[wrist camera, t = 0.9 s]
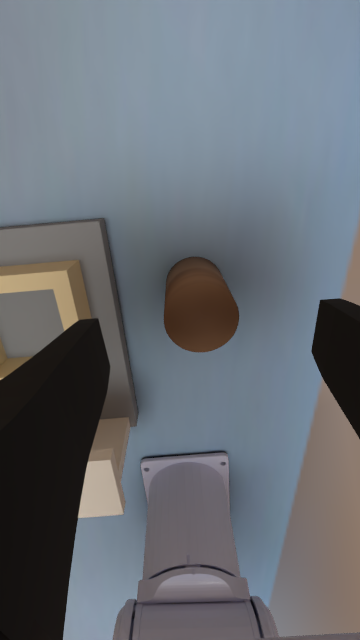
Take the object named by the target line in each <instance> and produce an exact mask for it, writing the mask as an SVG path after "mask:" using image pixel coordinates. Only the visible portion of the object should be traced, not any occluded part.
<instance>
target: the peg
mask: <svg viewBox="0 0 360 640" xmlns="http://www.w3.org/2000/svg"><path fill="white" fill-rule="evenodd" d="M238 322H239V311H238V307H237V304H236V302H235V300H234V298H233V296H232V294H231V292H230V290H229V289H228V287H227V285H226V283H225V281H224V279H223V277H222V275H221V273H220V271H219V269H218V268H217V267H216V265H215V264H213V263H212V262H211V261H209V260H207V259H205V258H201V257H189V258H185V259H183V260H181V261H179V262H178V263H176V264H175V265H174V266H173V267H172V269H171V270H170V272H169V273H168V276H167V280H166V292H165V308H164V325H165V329H166V332H167V334H168V336H169V337H170V338H171V340H172V341H173V342H174V343H175V344H177V345H178V346H179V347H181V348H183V349H185V350H188V351H192V352H208V351H212V350H215V349H217V348H219V347H221V346H223V345H224V344H225V343H227V342H228V341H229V340H230V339H231V338H232V336H233V335H234V333H235V331H236V329H237V326H238Z"/></svg>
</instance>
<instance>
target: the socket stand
mask: <svg viewBox="0 0 360 640" xmlns="http://www.w3.org/2000/svg"><path fill="white" fill-rule="evenodd" d="M93 318H98V319H99V323H100V327H101V331H102V335H103V339H104V343H105V347H106V351H107V355H108V359H109V363H110V376H109V383H108V390H107V395H106V399H105V402H104V406H103V410H102V413H101V417H100V420H99V424H98V427H97V431H96V434H95V438H94V441H93V445H92V448H91V452H90V455H89V459H88V464H87V468H86V473H85V479H84V484H83V490H82V496H81V501H80V508H79V514H78V518H84V517H98V516H111V515H124V508H125V498H124V494H123V490H122V485H121V478H122V472H123V467H124V461H125V455H126V449H127V443H128V437H129V432H130V427H134V426H137V419H138V409H137V403H136V397H135V392H134V386H133V380H132V375H131V369H130V363H129V358H128V352H127V346H126V340H125V335H124V329H123V323H122V318H121V312H120V306H119V301H118V295H117V289H116V283H115V278H114V272H113V266H112V261H111V255H110V249H109V243H108V238H107V232H106V226H105V221H104V218H101V219H90V220H79V221H67V222H56V223H45V224H34V225H23V226H12V227H1V228H0V380H1V379H3V378H4V377H6V376H7V375H9V374H10V373H11V372H13V371H14V370H15V369H17V368H18V367H20V366H21V365H22V364H24V363H25V362H26V361H28V360H29V359H30V358H32V357H33V356H34V355H36V354H37V353H38V352H39V351H41V350H42V349H43V348H44V347H46V346H47V345H48V344H49V343H51V342H52V341H53V340H54V339H55V338H57V337H58V336H59V335H60V334H62V333H63V332H64V331H65V330H66V329H68V328H69V327H70V326H72V325H73V324H74V323H76V322H77V321H78V320H81V319H93Z"/></svg>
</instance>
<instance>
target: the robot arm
mask: <svg viewBox="0 0 360 640" xmlns="http://www.w3.org/2000/svg"><path fill="white" fill-rule="evenodd" d="M312 354H313V356H314V359H315V361H316V364H317V366H318V369H319V371H320V373H321V375H322V377H323V379H324V381H325V383H326V384H327V386H328V388H329V389H330V391H331V393H332V394H333V396H334V397H335V399H336V400H337V402H338V404H339V406H340V407H341V409H342V411H343V412H344V414H345V415H346V417H347V419H348V420H349V422H350V424H351V425H352V427H353V429H354V430H355V432H356V433H357V435H358V437H359V439H360V306H359V305H356V304H354V303H351V302H349V301H346V300H343V299H327V300H320V304H319V310H318V316H317V322H316V327H315V333H314V339H313V345H312ZM109 376H110V363H109V359H108V355H107V351H106V347H105V343H104V339H103V335H102V331H101V327H100V323H99V319H98V318H93V319H81V320H78V321H77V322H76V323H74V324H73V325H72V326H70V327H69V328H68V329H66V330H65V331H64V332H63V333H62V334H60V335H59V336H58V337H57V338H55V339H54V340H53V341H52V342H51V343H49V344H48V345H47V346H46V347H44V348H43V349H42V350H41V351H39V352H38V353H37V354H36V355H34V356H33V357H32V358H30V359H29V360H28V361H26V362H25V363H24V364H22V365H21V366H20V367H18V368H17V369H15V370H14V371H13V372H11V373H10V374H9V375H7V376H6V377H4V378H3V379H1V380H0V640H63V631H64V622H65V613H66V604H67V595H68V586H69V578H70V570H71V563H72V556H73V548H74V541H75V534H76V527H77V521H78V514H79V508H80V501H81V496H82V490H83V484H84V479H85V473H86V468H87V464H88V459H89V455H90V452H91V448H92V445H93V441H94V438H95V434H96V431H97V427H98V424H99V420H100V417H101V413H102V410H103V406H104V402H105V399H106V395H107V390H108V383H109ZM141 471H142V476H143V481H144V487H145V492H146V497H147V502H148V513H147V526H146V540H145V553H144V566H143V579H142V580H140V581H139V583H138V594H137V600H136V599H129V600H127V601H126V603H125V605H124V606H123V608H122V609H121V610H120V611H119V613H118V616H117V620H116V624H115V629H114V635H113V640H360V633H344V634H325V635H308V636H290V637H279V635H278V632H277V628H276V625H275V622H274V619H273V617H272V614H271V612H270V610H269V609H268V608H267V607H266V605H265V604H264V603H263V601H262V600H261V599H260V598H259V597H258V596H251V597H250V594H249V589H248V583H247V579H246V578H241V577H240V571H239V565H238V559H237V553H236V547H235V542H234V536H233V530H232V524H231V518H230V500H229V462H228V455H227V454H226V453H210V454H197V455H184V456H172V457H159V458H146V459H143V460H142V461H141Z"/></svg>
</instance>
